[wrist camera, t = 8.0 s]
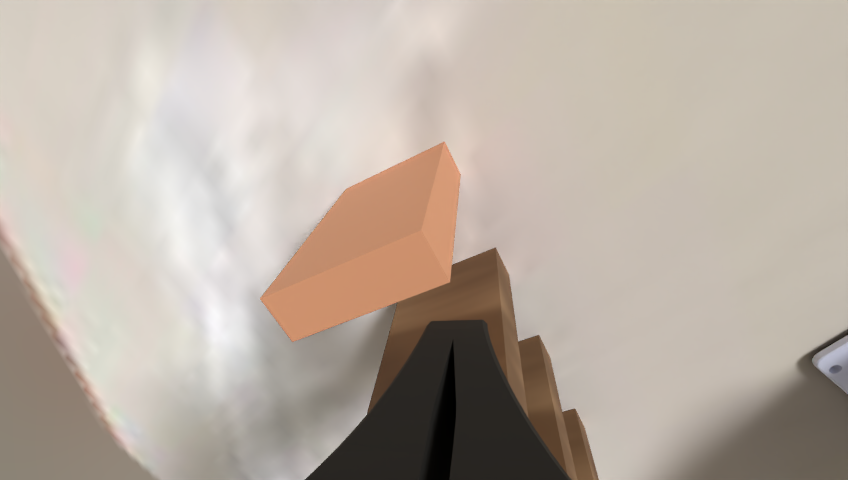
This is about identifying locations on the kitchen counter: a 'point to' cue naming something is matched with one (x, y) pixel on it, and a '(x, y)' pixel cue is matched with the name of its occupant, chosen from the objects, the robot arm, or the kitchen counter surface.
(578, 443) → the domino
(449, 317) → the domino
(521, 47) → the kitchen counter surface
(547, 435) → the domino
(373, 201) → the end domino
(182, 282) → the kitchen counter surface
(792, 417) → the kitchen counter surface
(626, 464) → the kitchen counter surface
